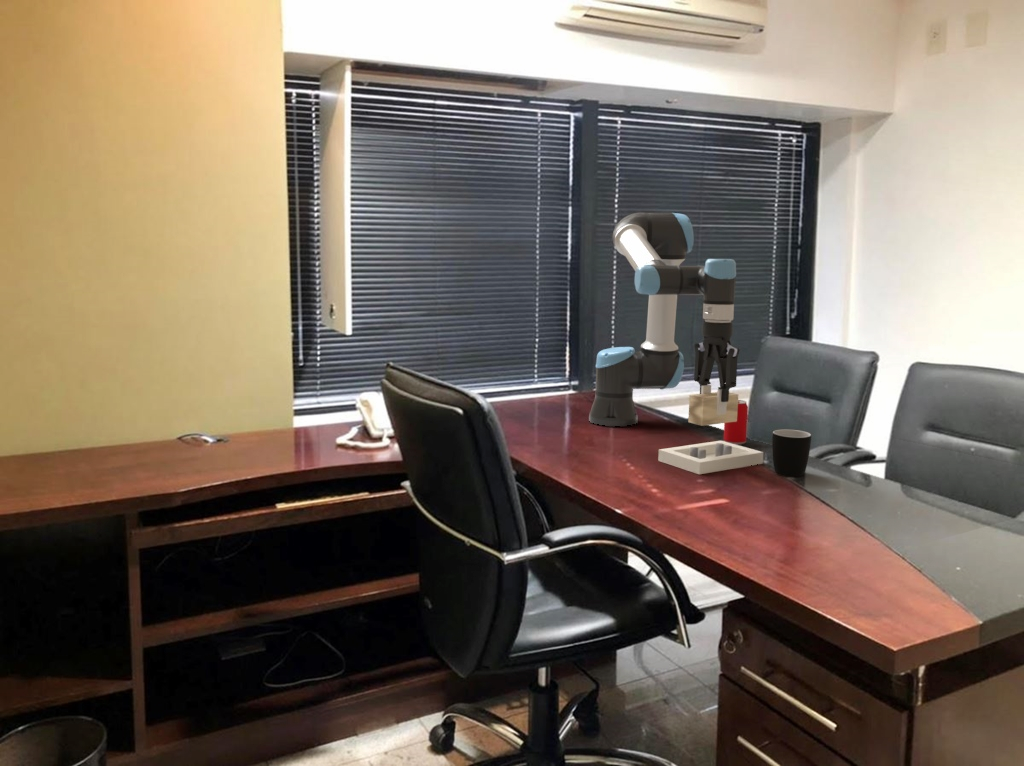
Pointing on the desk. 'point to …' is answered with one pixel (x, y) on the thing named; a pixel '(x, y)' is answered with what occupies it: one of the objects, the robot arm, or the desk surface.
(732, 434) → the beverage can
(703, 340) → the robot arm
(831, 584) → the desk surface
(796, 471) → the mug
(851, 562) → the desk surface
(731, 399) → the wooden block
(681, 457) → the peg frame
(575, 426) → the desk surface
